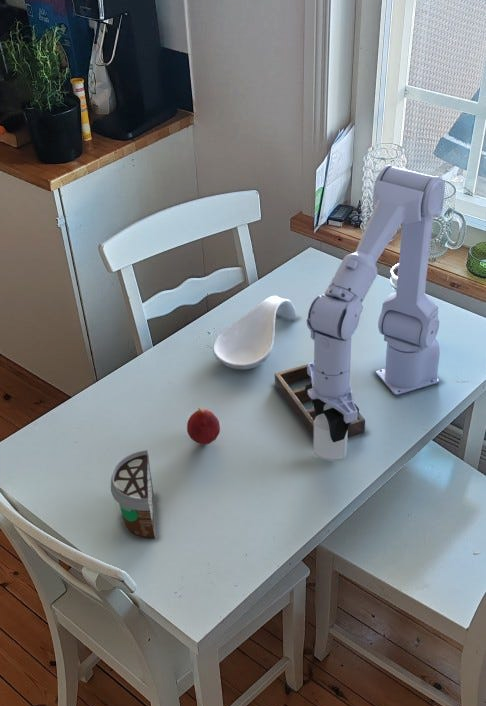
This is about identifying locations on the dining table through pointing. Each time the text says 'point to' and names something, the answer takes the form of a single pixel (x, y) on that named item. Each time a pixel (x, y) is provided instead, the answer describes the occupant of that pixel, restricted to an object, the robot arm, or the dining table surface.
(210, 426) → the onion
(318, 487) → the dining table surface
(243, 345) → the spoon rest
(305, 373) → the spice rack
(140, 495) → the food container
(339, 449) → the eye dropper bottle
